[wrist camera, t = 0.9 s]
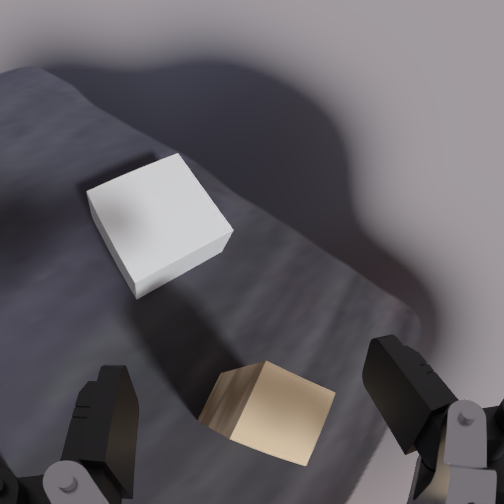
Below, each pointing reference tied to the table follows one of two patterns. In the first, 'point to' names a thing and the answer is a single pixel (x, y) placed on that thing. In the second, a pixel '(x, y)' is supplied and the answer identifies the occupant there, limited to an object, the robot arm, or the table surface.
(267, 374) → the maple pillar
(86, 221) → the table surface
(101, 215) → the grey base block
